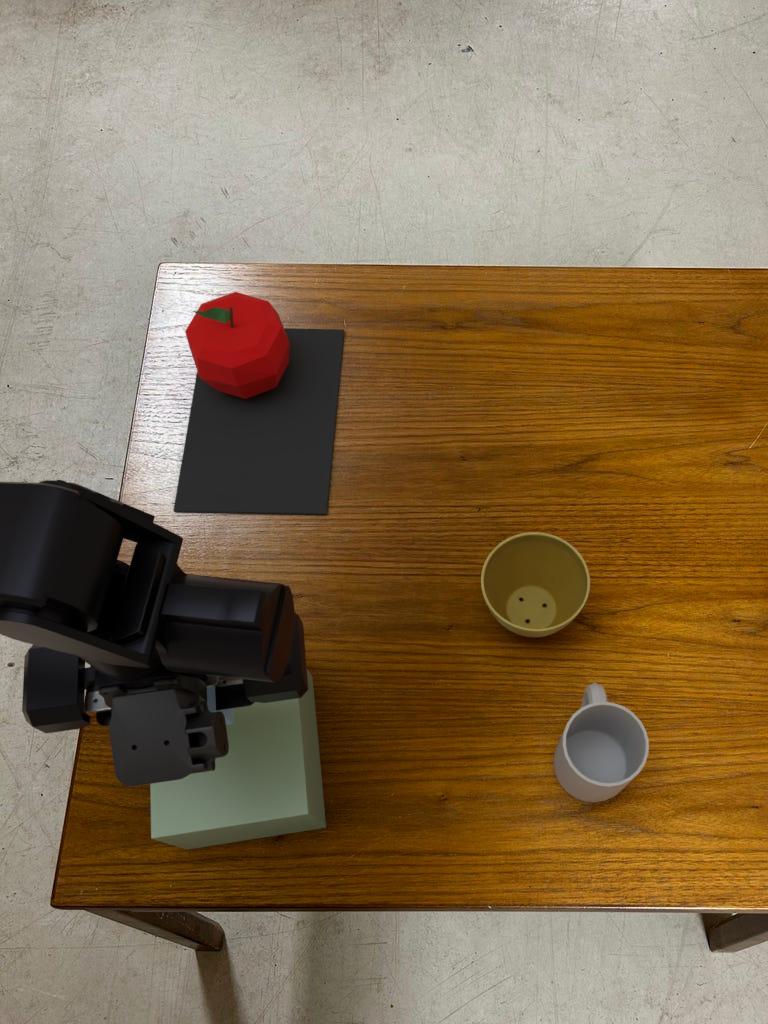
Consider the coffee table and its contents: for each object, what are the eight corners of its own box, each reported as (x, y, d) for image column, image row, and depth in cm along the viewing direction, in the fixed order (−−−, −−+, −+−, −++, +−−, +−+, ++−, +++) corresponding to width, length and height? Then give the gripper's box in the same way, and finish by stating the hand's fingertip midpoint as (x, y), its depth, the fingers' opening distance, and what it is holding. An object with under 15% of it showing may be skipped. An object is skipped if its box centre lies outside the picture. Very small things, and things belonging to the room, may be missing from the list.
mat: (174, 512, 84) (173, 510, 84) (205, 328, 93) (204, 326, 92) (327, 515, 84) (326, 513, 84) (344, 331, 93) (343, 329, 92)
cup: (555, 805, 74) (565, 788, 66) (548, 700, 78) (557, 671, 69) (633, 802, 74) (653, 785, 66) (622, 698, 78) (640, 669, 69)
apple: (298, 332, 92) (278, 263, 83) (297, 409, 88) (276, 347, 79) (205, 336, 92) (174, 267, 82) (199, 414, 88) (167, 351, 79)
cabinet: (181, 695, 77) (148, 667, 69) (312, 676, 78) (294, 646, 70) (186, 849, 72) (150, 838, 64) (326, 827, 73) (308, 814, 65)
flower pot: (469, 576, 82) (469, 544, 75) (564, 555, 83) (572, 521, 76) (494, 667, 79) (496, 642, 72) (592, 643, 80) (604, 616, 73)
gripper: (-39, 784, 46) (84, 821, 61) (289, 738, 47) (331, 785, 62) (-26, 606, 50) (86, 681, 64) (277, 567, 51) (319, 650, 66)
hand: (205, 702), depth 64 cm, fingers closed on block, 4 cm apart
